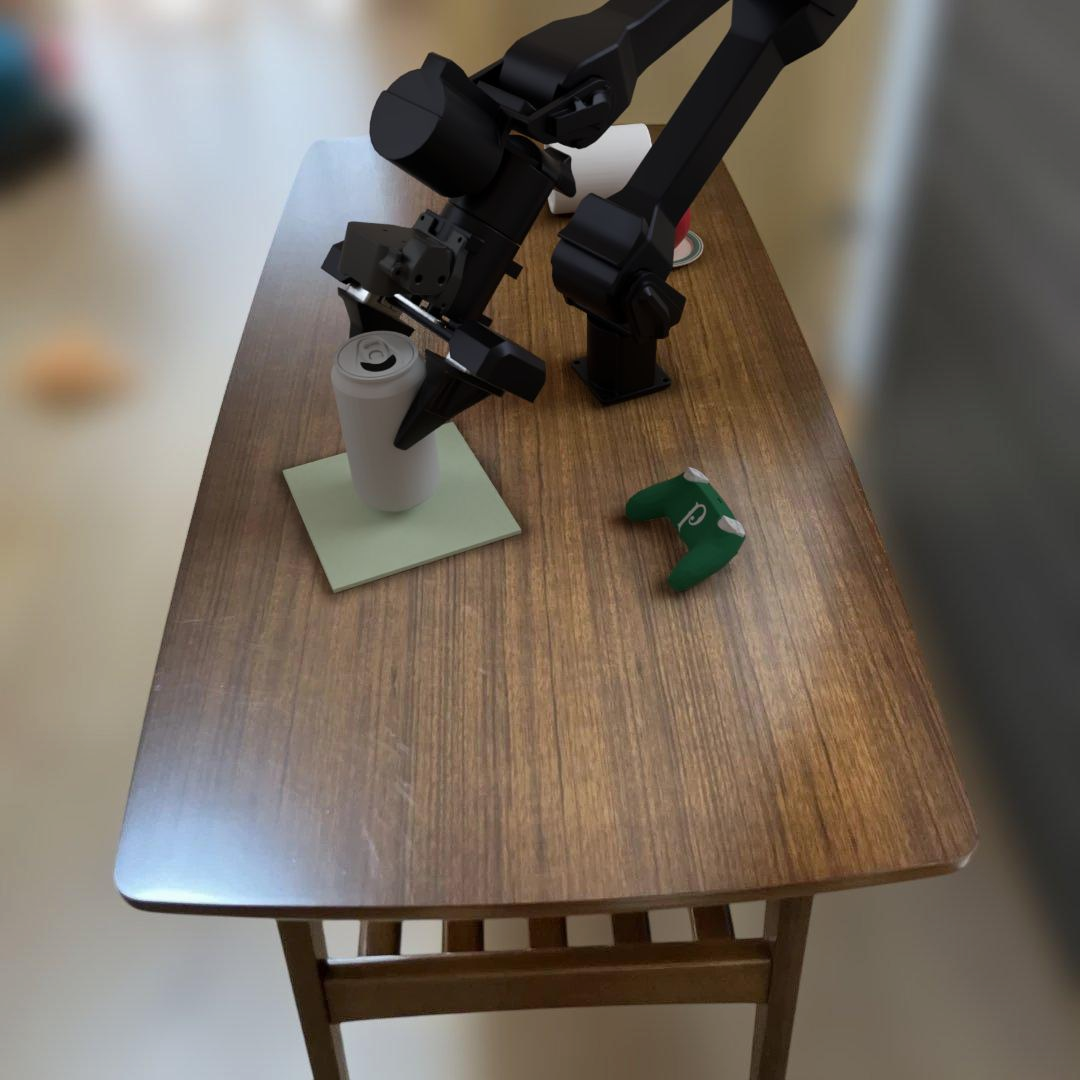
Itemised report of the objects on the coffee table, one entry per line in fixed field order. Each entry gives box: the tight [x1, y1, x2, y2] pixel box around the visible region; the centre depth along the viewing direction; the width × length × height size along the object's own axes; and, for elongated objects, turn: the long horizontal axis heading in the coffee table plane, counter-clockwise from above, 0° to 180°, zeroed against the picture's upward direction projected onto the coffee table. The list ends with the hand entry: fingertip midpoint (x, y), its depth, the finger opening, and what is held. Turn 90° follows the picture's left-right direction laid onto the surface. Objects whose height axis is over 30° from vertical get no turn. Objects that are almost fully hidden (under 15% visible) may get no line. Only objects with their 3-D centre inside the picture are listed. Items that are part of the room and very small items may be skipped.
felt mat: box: [282, 421, 522, 594], centre depth 83 cm, size 14×14×1 cm
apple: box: [673, 206, 704, 268], centre depth 107 cm, size 8×8×6 cm
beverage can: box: [330, 331, 441, 512], centre depth 78 cm, size 6×6×12 cm
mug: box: [543, 123, 653, 215], centre depth 115 cm, size 12×10×8 cm
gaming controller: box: [624, 466, 747, 593], centre depth 78 cm, size 9×4×6 cm
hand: (370, 425), depth 77 cm, fingers closed on beverage can, 6 cm apart
